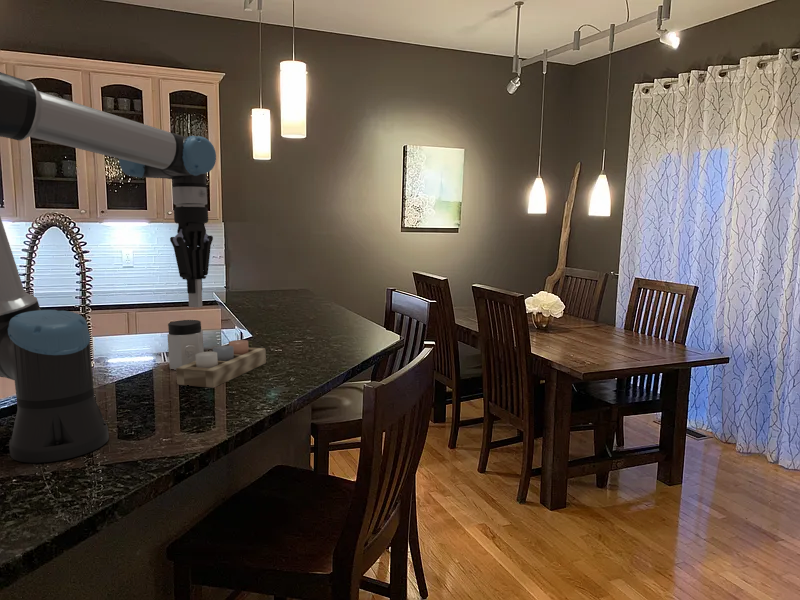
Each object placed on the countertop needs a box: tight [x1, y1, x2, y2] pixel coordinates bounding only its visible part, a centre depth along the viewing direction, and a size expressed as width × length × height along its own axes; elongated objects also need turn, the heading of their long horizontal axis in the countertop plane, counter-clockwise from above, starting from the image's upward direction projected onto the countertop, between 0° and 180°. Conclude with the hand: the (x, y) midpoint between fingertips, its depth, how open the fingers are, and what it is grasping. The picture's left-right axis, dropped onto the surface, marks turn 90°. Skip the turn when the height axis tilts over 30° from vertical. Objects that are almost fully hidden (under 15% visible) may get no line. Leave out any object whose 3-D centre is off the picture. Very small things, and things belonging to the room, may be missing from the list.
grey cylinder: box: [212, 344, 234, 361], centre depth 153 cm, size 5×5×5 cm
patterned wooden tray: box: [175, 346, 267, 389], centre depth 153 cm, size 24×10×4 cm, turn 163°
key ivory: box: [196, 351, 218, 368], centre depth 146 cm, size 5×5×5 cm
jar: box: [167, 319, 205, 371], centre depth 159 cm, size 9×8×12 cm
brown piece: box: [228, 339, 249, 355], centre depth 159 cm, size 5×5×5 cm
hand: (195, 306), depth 143 cm, fingers closed
